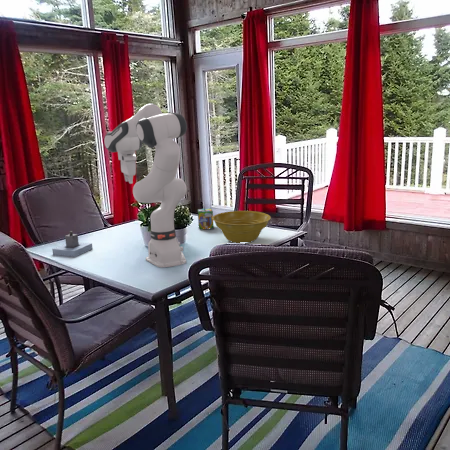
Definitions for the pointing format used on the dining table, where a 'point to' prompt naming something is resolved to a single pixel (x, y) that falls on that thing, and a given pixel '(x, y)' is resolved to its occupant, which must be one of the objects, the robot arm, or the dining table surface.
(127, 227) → the dining table surface
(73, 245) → the plug
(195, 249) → the dining table surface
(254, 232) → the planter bowl
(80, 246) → the socket
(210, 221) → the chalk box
